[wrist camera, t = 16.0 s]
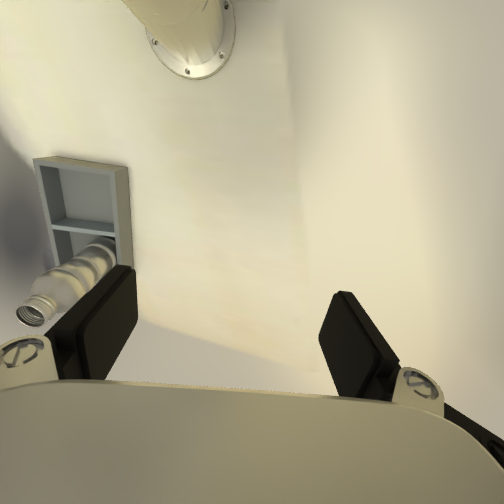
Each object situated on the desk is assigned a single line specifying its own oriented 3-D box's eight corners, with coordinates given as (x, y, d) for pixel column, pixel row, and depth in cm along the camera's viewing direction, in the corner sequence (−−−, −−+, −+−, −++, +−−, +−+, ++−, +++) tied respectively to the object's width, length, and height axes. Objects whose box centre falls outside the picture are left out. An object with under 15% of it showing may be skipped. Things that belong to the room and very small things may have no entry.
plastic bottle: (98, 264, 49) (15, 337, 31) (88, 233, 46) (-10, 295, 28) (130, 263, 50) (65, 336, 32) (122, 233, 47) (46, 294, 29)
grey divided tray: (55, 156, 41) (32, 158, 37) (127, 167, 42) (114, 171, 38) (75, 267, 51) (58, 279, 46) (134, 273, 52) (123, 287, 47)
